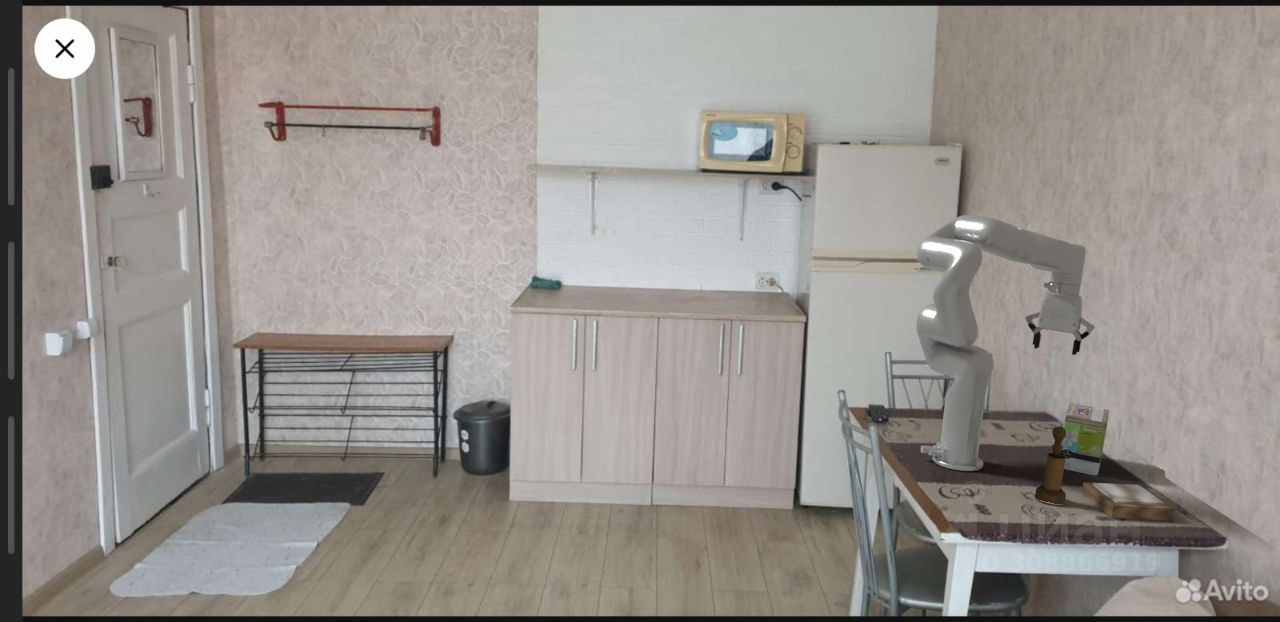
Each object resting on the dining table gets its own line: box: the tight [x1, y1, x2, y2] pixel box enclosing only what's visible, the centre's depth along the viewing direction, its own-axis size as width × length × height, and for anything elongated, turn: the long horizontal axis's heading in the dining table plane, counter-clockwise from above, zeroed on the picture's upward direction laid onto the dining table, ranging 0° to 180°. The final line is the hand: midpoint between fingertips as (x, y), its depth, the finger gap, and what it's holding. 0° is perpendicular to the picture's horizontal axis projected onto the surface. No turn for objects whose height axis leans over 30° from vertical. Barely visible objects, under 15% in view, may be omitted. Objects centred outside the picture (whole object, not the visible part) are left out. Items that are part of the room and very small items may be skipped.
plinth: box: [1081, 481, 1176, 522], centre depth 208 cm, size 14×14×4 cm
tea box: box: [1061, 402, 1110, 477], centre depth 236 cm, size 15×10×15 cm, turn 151°
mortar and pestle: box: [1034, 426, 1067, 505], centre depth 209 cm, size 7×6×18 cm
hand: (1055, 351), depth 244 cm, fingers open, 9 cm apart
